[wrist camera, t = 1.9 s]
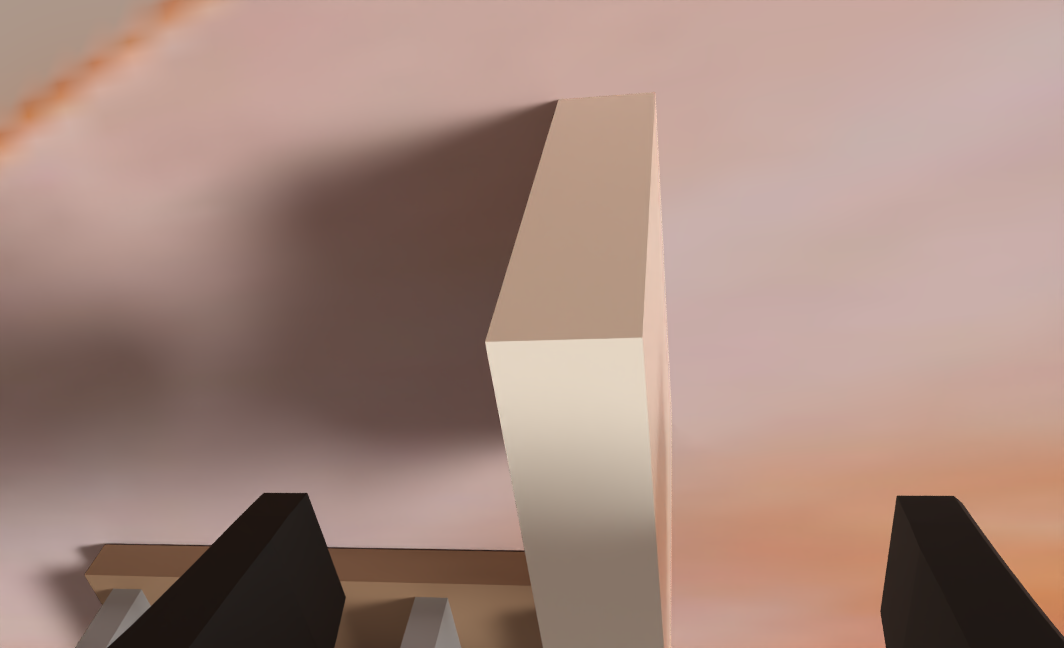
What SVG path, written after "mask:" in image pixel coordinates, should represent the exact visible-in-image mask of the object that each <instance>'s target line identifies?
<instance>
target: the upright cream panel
mask: <svg viewBox="0 0 1064 648" xmlns="http://www.w3.org/2000/svg"><path fill="white" fill-rule="evenodd" d="M485 344H486V350H487V355H488V360H489V366H490V371H491V376H492V381H493V387H494V392H495V397H496V402H497V408H498V413H499V418H500V424H501V429H502V434H503V439H504V445H505V450H506V455H507V460H508V466H509V471H510V476H511V482H512V487H513V492H514V497H515V503H516V508H517V513H518V518H519V524H520V529H521V534H522V540H523V545H524V550H525V555H526V561H527V566H528V571H529V576H530V582H531V587H532V592H533V598H534V603H535V608H536V613H537V619H538V624H539V629H540V634H541V640H542V645H543V648H671V511H672V412H671V392H670V372H669V352H668V333H667V313H666V293H665V273H664V253H663V233H662V214H661V194H660V174H659V154H658V134H657V115H656V95H655V92H652V93H639V94H625V95H612V96H599V97H586V98H573V99H560V100H558V103H557V106H556V110H555V113H554V116H553V120H552V123H551V126H550V129H549V133H548V136H547V139H546V143H545V146H544V149H543V153H542V156H541V159H540V162H539V166H538V169H537V172H536V176H535V179H534V182H533V185H532V189H531V192H530V195H529V199H528V202H527V205H526V209H525V212H524V215H523V218H522V222H521V225H520V228H519V232H518V235H517V238H516V241H515V245H514V248H513V251H512V255H511V258H510V261H509V265H508V268H507V271H506V274H505V278H504V281H503V284H502V288H501V291H500V294H499V297H498V301H497V304H496V307H495V311H494V314H493V317H492V321H491V324H490V327H489V330H488V334H487V337H486V340H485Z"/></svg>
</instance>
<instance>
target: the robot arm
mask: <svg viewBox="0 0 1064 648" xmlns="http://www.w3.org/2000/svg"><path fill="white" fill-rule="evenodd" d="M345 599H346V596H345V593H344V591H343V588H342V585H341V583H340V580H339V577H338V575H337V572H336V569H335V566H334V564H333V561H332V558H331V556H330V553H329V550H328V548H327V545H326V542H325V539H324V537H323V534H322V531H321V529H320V526H319V523H318V521H317V518H316V515H315V512H314V510H313V507H312V504H311V502H310V499H309V496H308V494H307V493H263V494H262V495H261V496H260V497H259V498H258V499H257V500H256V501H255V502H254V503H253V504H252V505H251V506H250V507H249V508H248V509H247V510H246V511H245V512H244V513H243V514H242V515H241V516H240V517H239V518H238V519H237V520H236V521H235V522H234V523H233V524H232V525H231V526H230V527H229V528H228V529H227V530H226V531H225V532H224V533H223V534H222V535H221V536H220V537H219V538H218V539H217V540H216V541H215V542H214V543H213V544H212V545H211V546H210V547H209V548H208V549H207V550H206V551H205V553H204V554H203V555H202V556H201V557H200V558H199V559H198V560H197V561H196V562H195V563H194V564H193V565H192V566H191V567H190V568H189V569H188V570H187V571H186V572H185V573H184V574H183V575H182V576H181V577H180V578H179V579H178V580H177V581H176V582H175V583H174V584H173V585H172V586H171V587H170V588H169V589H168V590H167V591H166V592H165V593H164V594H163V595H162V596H161V597H160V598H159V599H158V600H157V601H156V602H155V603H154V604H153V605H152V606H151V607H150V608H148V609H147V610H146V611H145V612H144V613H143V614H142V615H141V616H140V617H139V618H138V619H137V620H136V621H135V622H134V623H133V624H132V625H131V626H130V627H129V628H128V629H127V630H126V631H125V632H124V633H123V634H121V635H120V636H119V637H118V638H117V639H116V640H115V641H114V642H113V643H112V644H111V645H109V646H108V647H107V648H334V647H335V643H336V639H337V635H338V630H339V626H340V622H341V617H342V613H343V608H344V604H345ZM880 612H881V618H882V625H883V631H884V637H885V644H886V648H1064V636H1063V635H1062V634H1061V633H1060V632H1059V630H1058V629H1057V628H1056V627H1055V626H1054V624H1053V623H1052V622H1051V621H1050V619H1049V618H1048V617H1047V616H1046V614H1045V613H1044V612H1043V611H1042V609H1041V608H1040V607H1039V606H1038V604H1037V603H1036V602H1035V601H1034V599H1033V598H1032V597H1031V596H1030V594H1029V593H1028V592H1027V590H1026V589H1025V588H1024V587H1023V585H1022V584H1021V583H1020V581H1019V580H1018V579H1017V577H1016V576H1015V575H1014V574H1013V572H1012V571H1011V570H1010V568H1009V567H1008V566H1007V564H1006V563H1005V562H1004V560H1003V559H1002V558H1001V556H1000V555H999V554H998V552H997V551H996V550H995V548H994V547H993V546H992V544H991V543H990V541H989V540H988V539H987V537H986V536H985V535H984V533H983V532H982V530H981V529H980V528H979V526H978V525H977V523H976V522H975V521H974V519H973V518H972V516H971V515H970V514H969V512H968V511H967V509H966V508H965V506H964V505H963V504H962V503H961V502H960V501H959V500H958V499H957V498H956V497H954V496H897V498H896V505H895V512H894V519H893V526H892V533H891V541H890V548H889V555H888V562H887V569H886V576H885V583H884V590H883V597H882V604H881V611H880Z"/></svg>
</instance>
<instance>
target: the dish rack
mask: <svg viewBox="0 0 1064 648" xmlns="http://www.w3.org/2000/svg"><path fill="white" fill-rule="evenodd" d="M209 547H210V546H162V545H104V547H103V548H102V550H101V551H100V553H99V554H98V556H97V557H96V558H95V560H94V561H93V563H92V564H91V566H90V567H89V569H88V570H87V572H86V573H85V574H84V575H85V577H86V579H87V580H88V582H89V584H90V585H91V587H92V589H93V590H94V592H95V594H96V595H97V597H98V599H99V600H100V602H101V604H102V607H101V608H100V610H99V611H98V613H97V615H96V616H95V618H94V619H93V621H92V622H91V624H90V625H89V627H88V628H87V630H86V632H85V633H84V635H83V636H82V638H81V639H80V641H79V642H78V644H77V646H76V647H75V648H107V647H108V646H109V645H111V644H112V643H113V642H114V641H115V640H116V639H117V638H118V637H119V636H120V635H121V634H123V633H124V632H125V631H126V630H127V629H128V628H129V627H130V626H131V625H132V624H133V623H134V622H135V621H136V620H137V619H138V618H139V617H140V616H141V615H142V614H143V613H144V612H145V611H146V610H147V609H148V608H150V607H151V606H152V605H153V604H154V603H155V602H156V601H157V600H158V599H159V598H160V597H161V596H162V595H163V594H164V593H165V592H166V591H167V590H168V589H169V588H170V587H171V586H172V585H173V584H174V583H175V582H176V581H177V580H178V579H179V578H180V577H181V576H182V575H183V574H184V573H185V572H186V571H187V570H188V569H189V568H190V567H191V566H192V565H193V564H194V563H195V562H196V561H197V560H198V559H199V558H200V557H201V556H202V555H203V554H204V553H205V551H206V550H207V549H208V548H209ZM328 550H329V553H330V556H331V558H332V561H333V564H334V566H335V569H336V572H337V575H338V577H339V580H340V583H341V585H342V588H343V591H344V593H345V596H346V599H345V604H344V608H343V613H342V617H341V622H340V626H339V630H338V635H337V639H336V643H335V647H334V648H543V645H542V640H541V634H540V629H539V624H538V619H537V613H536V608H535V603H534V598H533V592H532V587H531V582H530V576H529V571H528V566H527V561H526V555H525V552H504V551H447V550H390V549H333V548H328Z"/></svg>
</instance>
